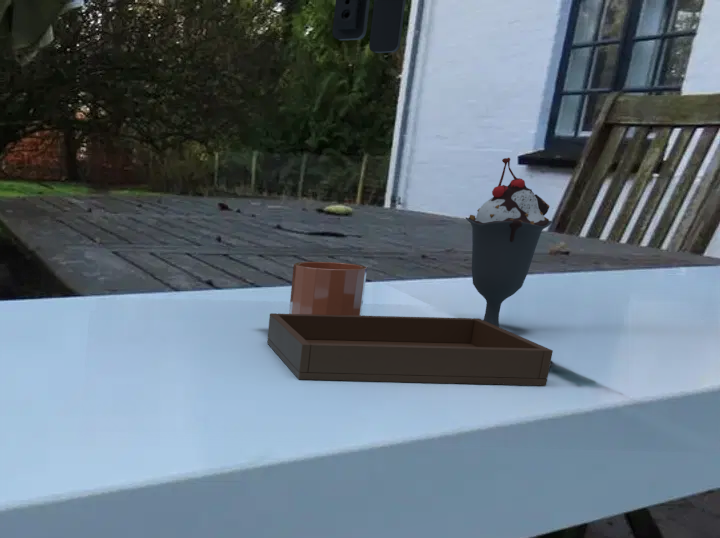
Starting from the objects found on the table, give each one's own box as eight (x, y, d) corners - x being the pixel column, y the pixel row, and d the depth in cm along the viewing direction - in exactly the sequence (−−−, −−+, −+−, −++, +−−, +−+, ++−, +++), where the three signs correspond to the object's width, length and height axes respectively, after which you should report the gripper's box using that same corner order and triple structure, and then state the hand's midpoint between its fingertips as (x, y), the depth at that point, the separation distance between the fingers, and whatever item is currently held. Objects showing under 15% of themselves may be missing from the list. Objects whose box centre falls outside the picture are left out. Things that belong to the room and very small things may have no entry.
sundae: (449, 345, 78) (479, 156, 73) (444, 331, 84) (471, 156, 79) (534, 351, 76) (571, 158, 71) (523, 337, 82) (556, 158, 77)
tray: (474, 348, 77) (479, 318, 76) (546, 385, 64) (553, 350, 63) (267, 343, 77) (269, 313, 76) (298, 379, 65) (302, 344, 64)
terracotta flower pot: (348, 329, 84) (356, 262, 82) (366, 342, 78) (375, 270, 76) (282, 328, 84) (288, 260, 82) (295, 340, 78) (302, 268, 76)
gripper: (426, -264, 56) (390, 32, 61) (476, -191, 67) (442, 53, 73) (307, -239, 60) (283, 37, 65) (373, -174, 71) (348, 57, 76)
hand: (367, 46), depth 69 cm, fingers open, 8 cm apart
